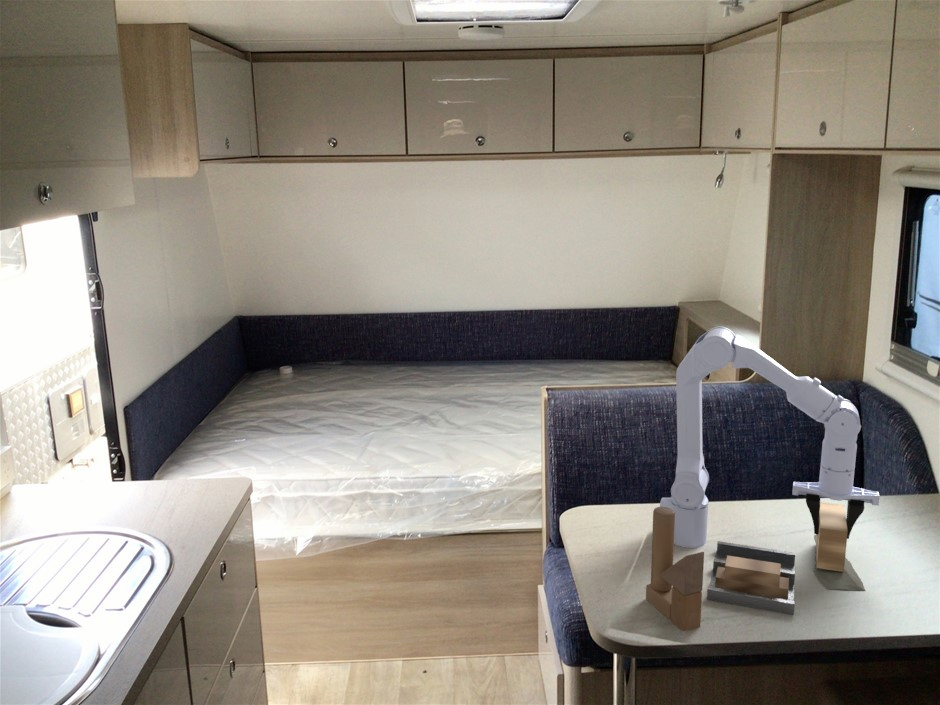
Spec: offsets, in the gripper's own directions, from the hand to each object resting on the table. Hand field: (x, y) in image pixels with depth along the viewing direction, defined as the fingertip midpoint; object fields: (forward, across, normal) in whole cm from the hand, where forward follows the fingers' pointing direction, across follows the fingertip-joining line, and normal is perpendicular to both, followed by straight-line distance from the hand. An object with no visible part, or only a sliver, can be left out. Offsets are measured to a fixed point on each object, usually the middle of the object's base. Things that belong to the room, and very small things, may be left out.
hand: (831, 534), depth 149 cm
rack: (+6, -13, -12) cm, 19 cm away
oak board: (+4, 0, 0) cm, 5 cm away
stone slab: (+7, -1, 0) cm, 7 cm away
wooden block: (+6, -25, -28) cm, 38 cm away
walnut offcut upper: (+3, -13, -16) cm, 21 cm away
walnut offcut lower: (+5, -13, -16) cm, 21 cm away
